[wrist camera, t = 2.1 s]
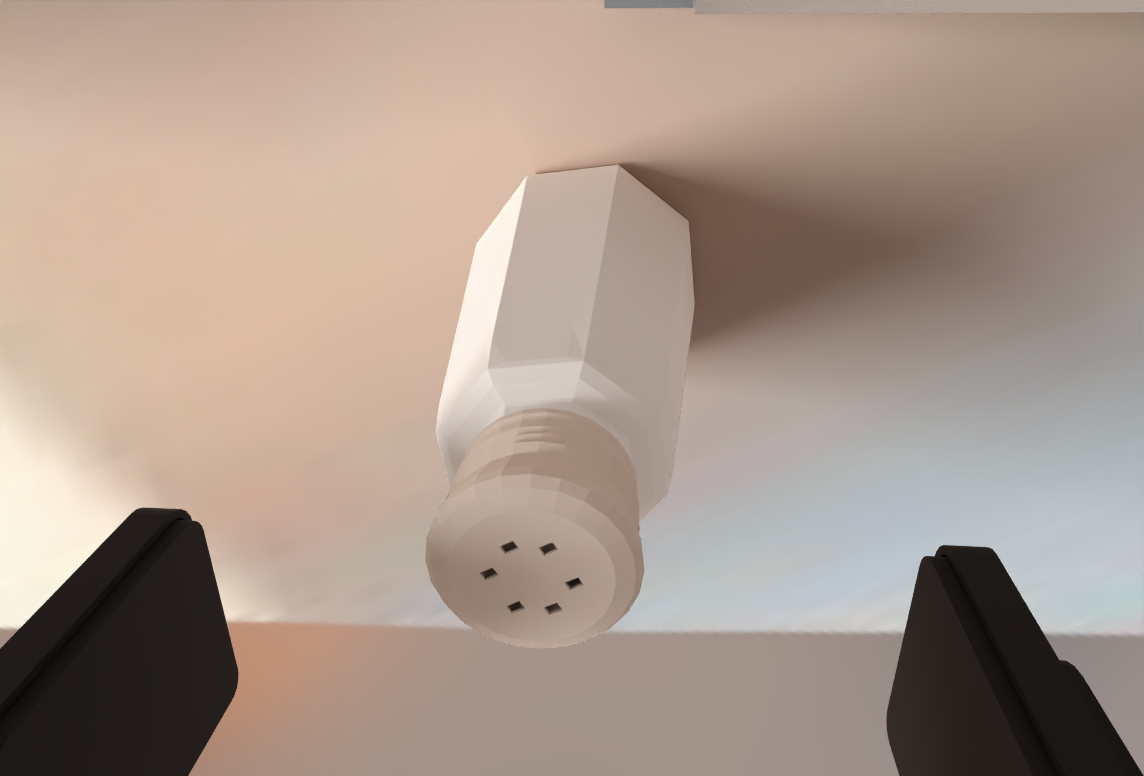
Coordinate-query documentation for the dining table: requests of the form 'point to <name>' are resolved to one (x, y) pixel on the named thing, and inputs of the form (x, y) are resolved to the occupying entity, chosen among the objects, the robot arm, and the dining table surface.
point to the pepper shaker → (561, 407)
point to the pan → (913, 6)
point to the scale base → (648, 3)
